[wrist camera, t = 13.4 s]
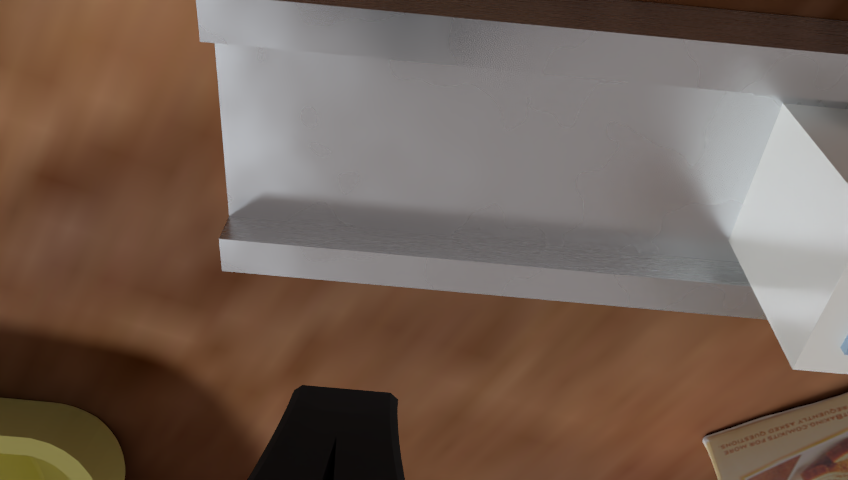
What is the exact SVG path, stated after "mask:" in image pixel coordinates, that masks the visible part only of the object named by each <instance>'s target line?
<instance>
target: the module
mask: <svg viewBox="0 0 848 480" xmlns="http://www.w3.org/2000/svg"><path fill="white" fill-rule="evenodd" d="M728 241H729V243H730V245H731V247H732V249H733V251H734V253H735V255H736V257H737V259H738V261H739V263H740V265H741V267H742V269H743V271H744V273H745V275H746V277H747V279H748V281H749V283H750V285H751V287H752V289H753V291H754V293H755V295H756V297H757V299H758V301H759V303H760V305H761V307H762V309H763V311H764V313H765V315H766V317H767V319H768V321H769V323H770V325H771V327H772V329H773V331H774V333H775V335H776V337H777V339H778V341H779V343H780V345H781V347H782V349H783V351H784V353H785V355H786V357H787V359H788V361H789V363H790V365H791V367H792V369H794V370H805V371H816V372H828V373H839V374H848V109H839V108H829V107H818V106H807V105H797V104H786V103H783V104H782V107H781V109H780V112H779V114H778V117H777V119H776V122H775V124H774V127H773V129H772V132H771V134H770V137H769V139H768V142H767V145H766V147H765V150H764V152H763V155H762V157H761V160H760V162H759V165H758V167H757V170H756V172H755V175H754V177H753V180H752V182H751V185H750V187H749V190H748V193H747V195H746V198H745V200H744V203H743V205H742V208H741V210H740V213H739V215H738V218H737V220H736V223H735V225H734V228H733V230H732V233H731V235H730V238H729V240H728Z"/></svg>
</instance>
